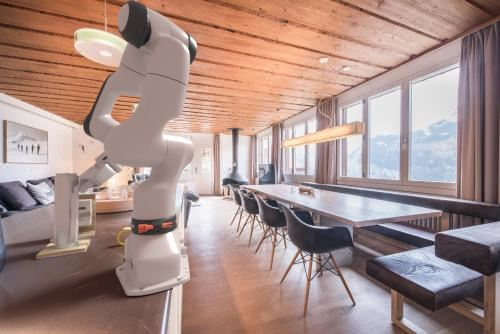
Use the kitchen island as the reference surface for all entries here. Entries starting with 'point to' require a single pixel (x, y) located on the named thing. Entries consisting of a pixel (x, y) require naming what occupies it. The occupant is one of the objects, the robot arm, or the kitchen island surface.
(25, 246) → the kitchen island surface
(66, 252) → the dock pad
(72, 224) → the white tall cylinder
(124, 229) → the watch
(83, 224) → the mounted unit
